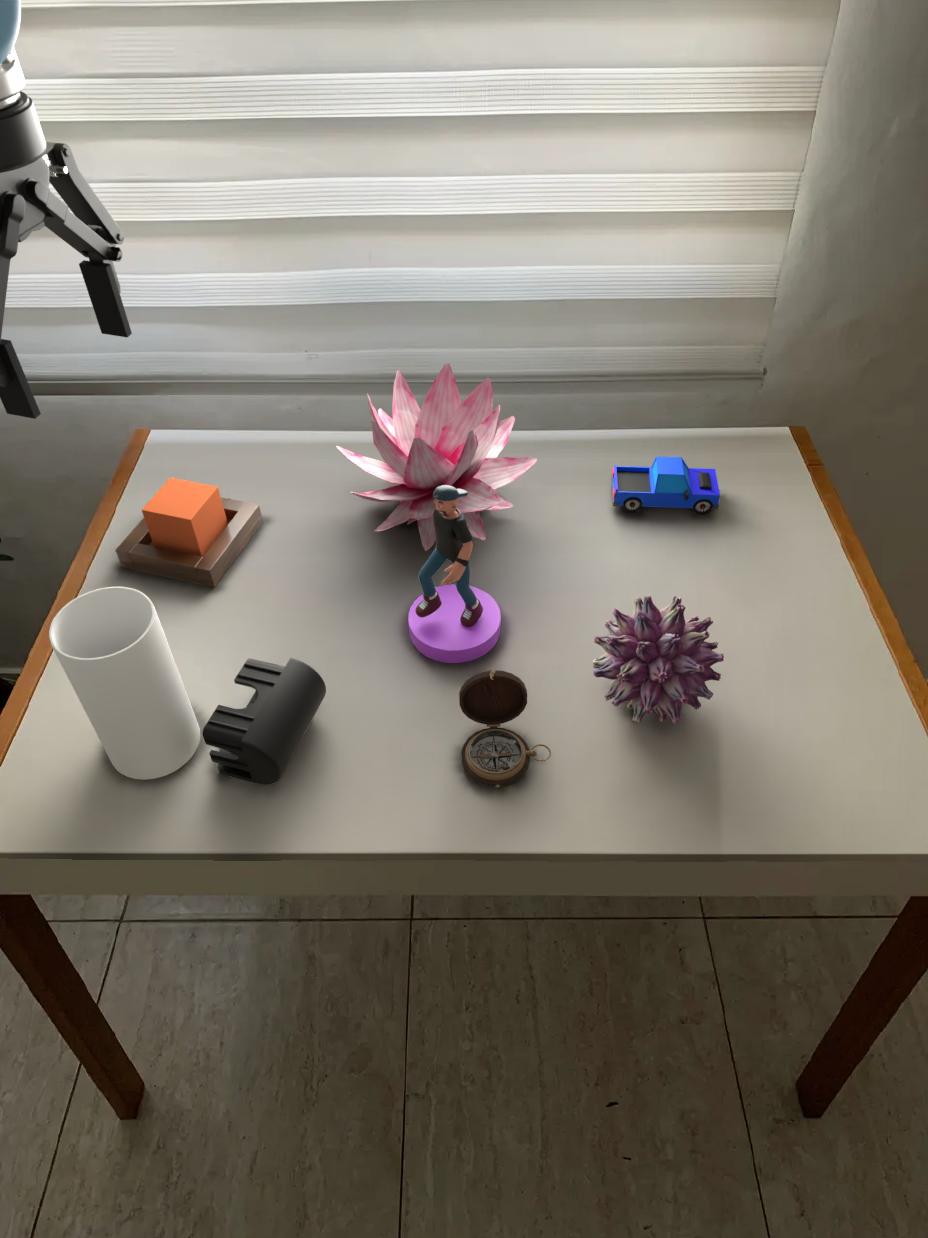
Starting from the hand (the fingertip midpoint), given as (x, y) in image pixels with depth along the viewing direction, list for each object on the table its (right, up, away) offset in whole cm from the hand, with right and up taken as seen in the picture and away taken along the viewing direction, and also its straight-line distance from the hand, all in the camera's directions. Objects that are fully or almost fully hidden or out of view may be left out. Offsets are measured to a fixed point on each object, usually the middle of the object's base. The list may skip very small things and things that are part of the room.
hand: (73, 371), depth 79 cm
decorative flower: (+31, -9, +28) cm, 43 cm away
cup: (+5, -33, +5) cm, 34 cm away
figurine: (+33, -22, +15) cm, 42 cm away
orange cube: (+3, -12, +24) cm, 27 cm away
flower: (+51, -29, +8) cm, 59 cm away
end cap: (+16, -33, +5) cm, 37 cm away
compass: (+38, -34, +4) cm, 50 cm away
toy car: (+57, -7, +29) cm, 64 cm away
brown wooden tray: (+3, -13, +25) cm, 28 cm away
